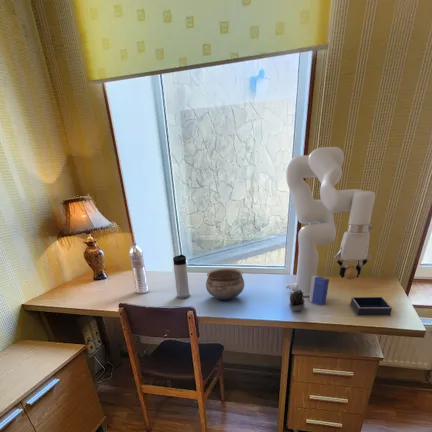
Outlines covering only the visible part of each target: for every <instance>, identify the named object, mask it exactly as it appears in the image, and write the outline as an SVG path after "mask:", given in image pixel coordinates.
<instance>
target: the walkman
mask: <svg viewBox="0 0 432 432" xmlns="http://www.w3.org/2000/svg"><path fill="white" fill-rule="evenodd" d="M329 284H330V279H329V278H328V277H323V276H319V275H316V276H312V282H311V289H310V296H308V298H309V299H308V301H309V302H310V303H314V304H317V305H319V306H322V305H325V304H326V302H327V296H328V289H329Z"/></svg>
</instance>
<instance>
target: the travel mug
mask: <svg viewBox="0 0 432 432" xmlns="http://www.w3.org/2000/svg"><path fill="white" fill-rule="evenodd" d="M172 262H173V272H174V280H175V281H174V282H175V288H176V297H177V299H182V300H183V299H188V298H189V297H190V290H189V289H190V288H189V277H188V266H187V256H186V255H185V254H179V255H175V256H174V257H173V258H172Z"/></svg>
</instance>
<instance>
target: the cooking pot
mask: <svg viewBox="0 0 432 432" xmlns="http://www.w3.org/2000/svg"><path fill="white" fill-rule="evenodd" d="M243 275H244V272H243V271H242V270H240V269H236V268H217V269H212V270H210V271H208V272H206V276H207V277H206V278H207V279H206V282H205V288H206V291H207V292H208V294H209V295H211V297H213V298H215V299H218V300H220V301H230V300H232V299H234V298H236V297H238V296H239V295H240V294H242V292H243V291H244V289H245V279H244V277H243Z"/></svg>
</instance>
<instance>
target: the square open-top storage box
mask: <svg viewBox="0 0 432 432" xmlns="http://www.w3.org/2000/svg"><path fill="white" fill-rule="evenodd" d="M349 305H350V306H351V308H352V310H353V311H354V312H355V313H356V316H360V317H361V316H362V317H363V316H364V317H365V316H370V317H371V316H391V312H392V309H393V307H392V306H391V305H390V303H388V301H387V300H386V299H385V298H384V297H383V296H352V297H351V299H350V304H349Z"/></svg>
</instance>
